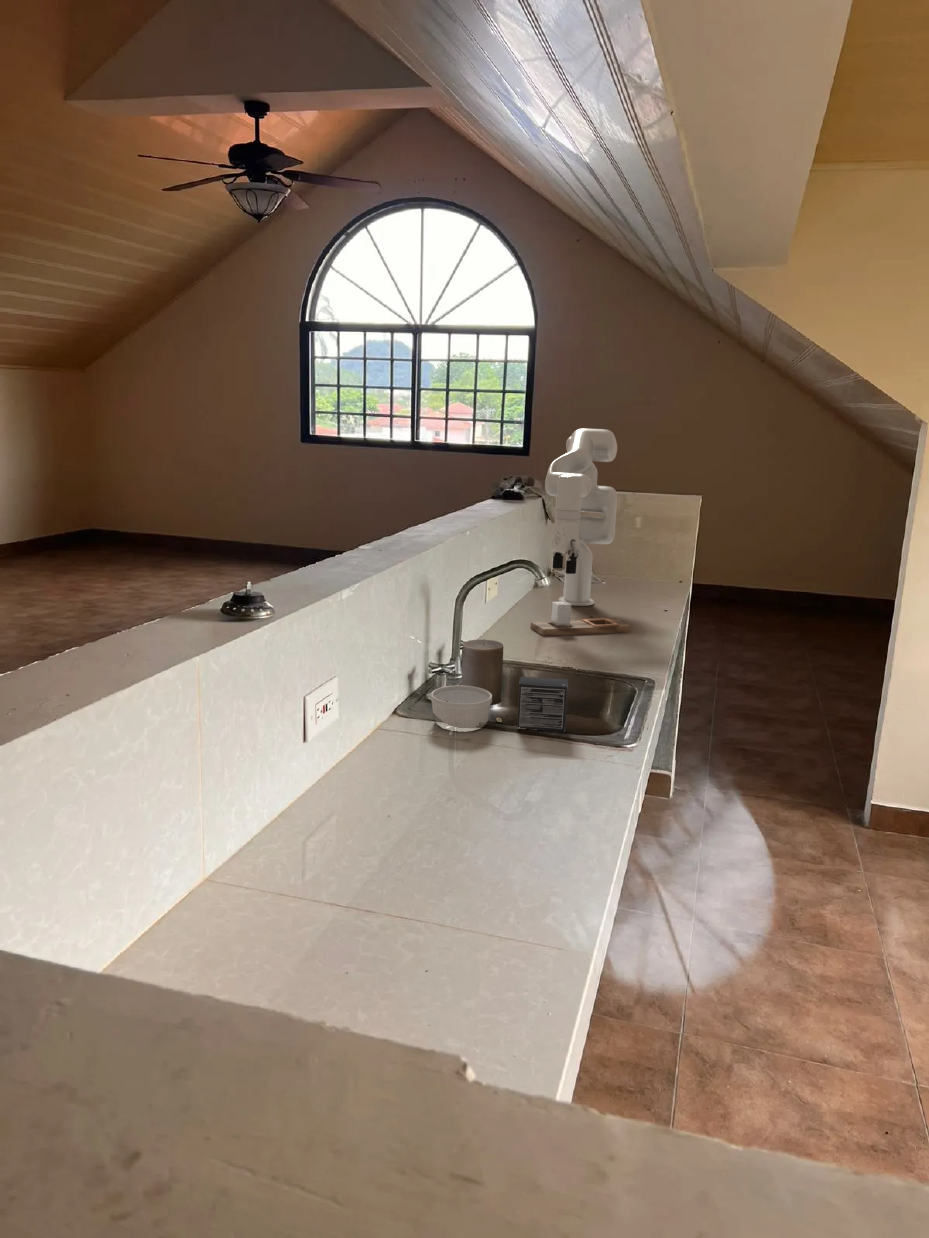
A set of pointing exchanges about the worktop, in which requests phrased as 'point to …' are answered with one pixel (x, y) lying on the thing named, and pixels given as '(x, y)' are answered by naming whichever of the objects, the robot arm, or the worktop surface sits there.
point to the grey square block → (561, 614)
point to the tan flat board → (581, 627)
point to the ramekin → (461, 705)
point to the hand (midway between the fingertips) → (563, 570)
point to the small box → (542, 703)
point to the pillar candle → (483, 666)
